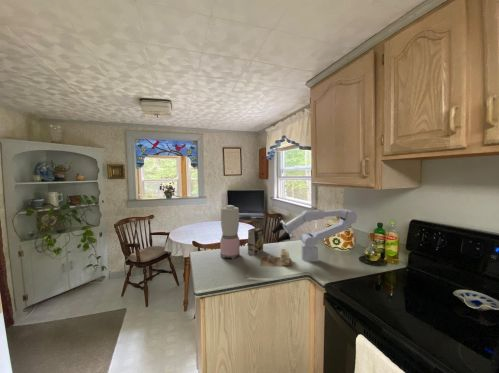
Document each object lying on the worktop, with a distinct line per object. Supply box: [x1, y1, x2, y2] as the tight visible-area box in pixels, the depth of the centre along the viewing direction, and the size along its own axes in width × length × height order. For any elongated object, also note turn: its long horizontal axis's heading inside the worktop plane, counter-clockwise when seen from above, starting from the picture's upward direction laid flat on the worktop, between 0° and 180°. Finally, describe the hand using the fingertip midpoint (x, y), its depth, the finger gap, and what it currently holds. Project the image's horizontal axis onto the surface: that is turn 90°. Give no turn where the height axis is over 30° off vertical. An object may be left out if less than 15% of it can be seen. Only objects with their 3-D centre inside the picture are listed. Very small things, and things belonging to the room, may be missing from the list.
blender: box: [219, 204, 241, 260], centre depth 140 cm, size 16×12×32 cm
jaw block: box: [280, 248, 290, 265], centre depth 128 cm, size 4×9×6 cm, turn 174°
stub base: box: [259, 255, 293, 268], centre depth 129 cm, size 18×13×4 cm
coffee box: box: [247, 227, 264, 256], centre depth 144 cm, size 9×6×16 cm
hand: (275, 236), depth 131 cm, fingers open, 7 cm apart
